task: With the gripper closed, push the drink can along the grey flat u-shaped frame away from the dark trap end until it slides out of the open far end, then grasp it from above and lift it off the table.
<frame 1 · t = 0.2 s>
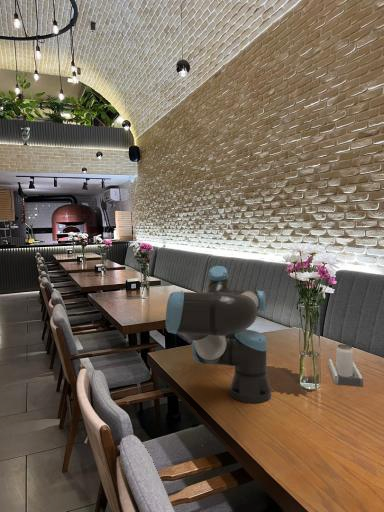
hand: (225, 330, 171), 15 cm above the table, tool tilted 35°, fingers open, 13 cm apart
can: (344, 374, 159), resting in grey flat u-shaped frame
grey flat u-shaped frame: (344, 375, 158), on the table
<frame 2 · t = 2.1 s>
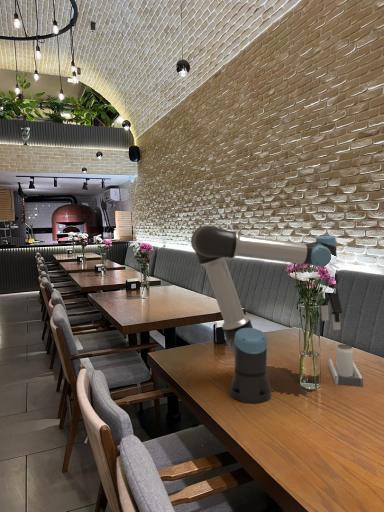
hand: (330, 324, 157), 21 cm above the table, tool pointing down, fingers open, 13 cm apart
nothing on the table moved.
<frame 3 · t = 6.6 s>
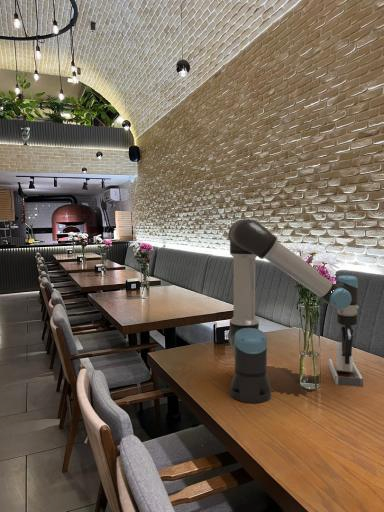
hand: (346, 370, 156), 3 cm above the table, tool pointing down, fingers closed
can: (344, 371, 159), point 1 cm above the table, touching gripper, hand
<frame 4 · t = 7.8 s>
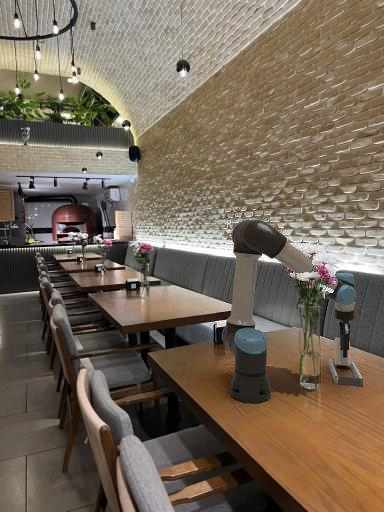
hand: (344, 364, 162), 3 cm above the table, tool pointing down, fingers closed
can: (342, 365, 166), point 1 cm above the table, touching gripper, hand
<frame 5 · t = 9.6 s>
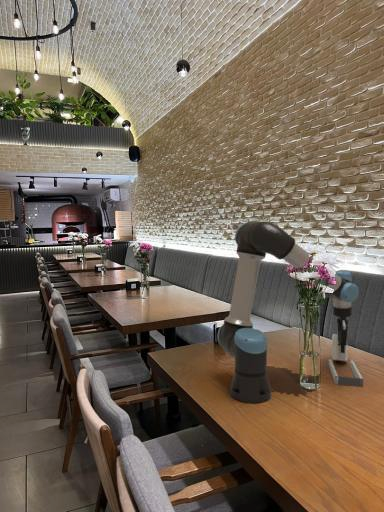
hand: (342, 359, 168), 3 cm above the table, tool pointing down, fingers closed
can: (339, 361, 171), point 1 cm above the table, touching gripper, hand
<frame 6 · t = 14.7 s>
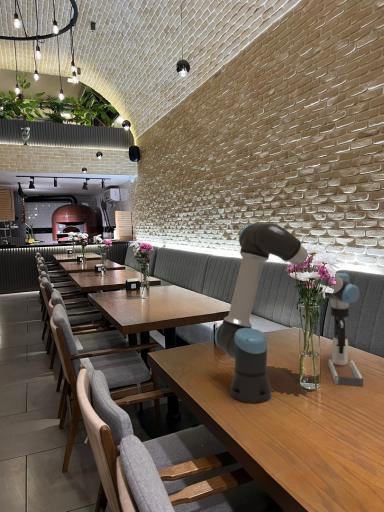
hand: (339, 356, 173), 2 cm above the table, tool pointing down, fingers open, 8 cm apart
can: (339, 363, 172), on the table, touching gripper
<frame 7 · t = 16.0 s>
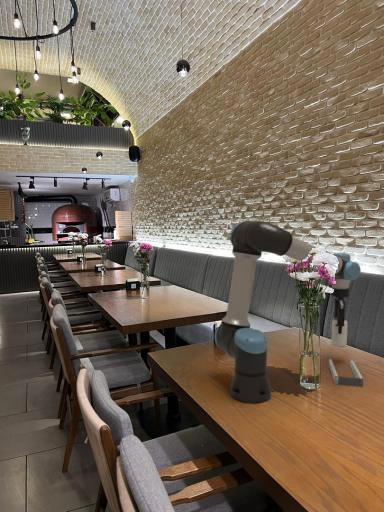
hand: (338, 338, 172), 11 cm above the table, tool pointing down, fingers closed on can, 5 cm apart
can: (338, 345, 172), point 8 cm above the table, touching gripper
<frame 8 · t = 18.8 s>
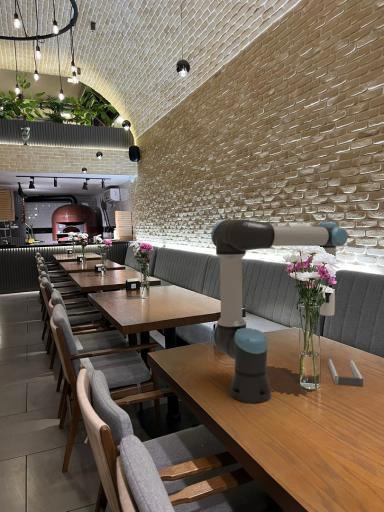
hand: (325, 308, 171), 25 cm above the table, tool pointing down, fingers closed on can, 5 cm apart
can: (326, 315, 171), point 22 cm above the table, touching gripper
at the end: the gripper is holding can; can point 21.7 cm above the table; can inside the target area (4.8 cm from its centre), point 21.7 cm above the table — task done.
